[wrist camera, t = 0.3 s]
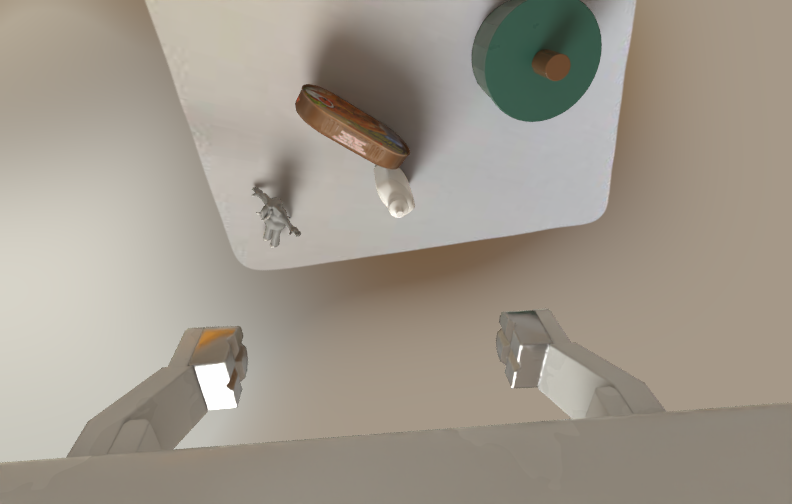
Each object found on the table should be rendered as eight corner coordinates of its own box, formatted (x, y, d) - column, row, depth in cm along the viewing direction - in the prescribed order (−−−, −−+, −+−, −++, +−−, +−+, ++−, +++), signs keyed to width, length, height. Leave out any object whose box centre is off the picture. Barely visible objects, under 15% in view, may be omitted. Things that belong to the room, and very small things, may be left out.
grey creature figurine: (233, 226, 63) (236, 182, 56) (267, 211, 67) (273, 168, 60) (276, 273, 61) (283, 233, 54) (309, 255, 64) (320, 215, 58)
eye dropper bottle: (402, 154, 60) (413, 188, 49) (410, 190, 63) (422, 229, 52) (371, 161, 60) (376, 197, 50) (381, 197, 63) (387, 238, 53)
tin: (407, 139, 59) (415, 160, 51) (395, 158, 60) (401, 181, 53) (307, 76, 53) (300, 90, 46) (295, 99, 55) (287, 115, 47)
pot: (476, -4, 51) (495, -2, 44) (575, -3, 52) (606, -2, 45) (467, 102, 57) (482, 117, 50) (554, 101, 58) (580, 115, 51)
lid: (489, -8, 44) (505, -8, 40) (609, -7, 46) (637, -7, 41) (476, 120, 51) (488, 132, 47) (581, 118, 52) (602, 130, 48)
